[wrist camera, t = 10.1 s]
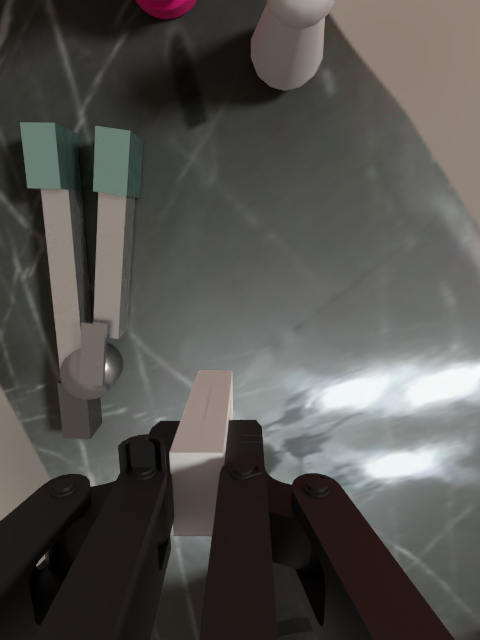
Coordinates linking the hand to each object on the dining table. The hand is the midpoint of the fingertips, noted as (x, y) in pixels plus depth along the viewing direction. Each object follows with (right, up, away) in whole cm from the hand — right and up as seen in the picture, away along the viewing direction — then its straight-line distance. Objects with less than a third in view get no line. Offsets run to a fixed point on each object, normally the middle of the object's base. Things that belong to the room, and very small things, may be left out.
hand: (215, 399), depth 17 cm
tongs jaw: (-11, +9, +21) cm, 25 cm away
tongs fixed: (-14, +6, +22) cm, 27 cm away
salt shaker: (+5, +26, +16) cm, 31 cm away
